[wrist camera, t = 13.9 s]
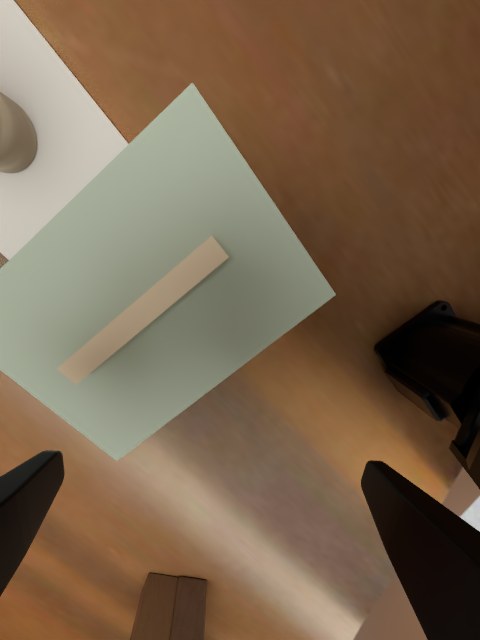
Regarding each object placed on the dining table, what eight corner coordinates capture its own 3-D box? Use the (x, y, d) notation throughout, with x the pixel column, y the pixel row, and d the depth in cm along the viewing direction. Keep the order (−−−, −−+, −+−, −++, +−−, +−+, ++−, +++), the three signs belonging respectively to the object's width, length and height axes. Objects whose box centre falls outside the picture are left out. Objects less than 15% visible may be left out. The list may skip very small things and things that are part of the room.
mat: (-18, -40, 12) (-24, -47, 12) (138, 156, 15) (137, 154, 15) (-145, 114, 13) (-153, 111, 13) (21, 268, 16) (18, 268, 16)
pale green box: (132, 40, 13) (55, -140, 7) (304, 283, 18) (347, 298, 12) (-123, 305, 16) (-334, 337, 10) (80, 457, 21) (20, 544, 15)
